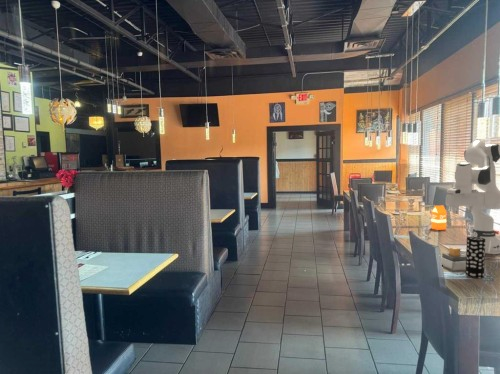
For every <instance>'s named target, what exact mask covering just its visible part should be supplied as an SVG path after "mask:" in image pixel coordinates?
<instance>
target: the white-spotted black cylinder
mask: <svg viewBox="0 0 500 374" xmlns="http://www.w3.org/2000/svg"><path fill="white" fill-rule="evenodd" d="M465 254H466V270H465V277H468V278H471V279H483V278H484V277H485V255H486V253H485V239H484V238H480V237H473V236H467V237H466V250H465Z"/></svg>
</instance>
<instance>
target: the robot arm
mask: <svg viewBox="0 0 500 374" xmlns="http://www.w3.org/2000/svg"><path fill="white" fill-rule="evenodd" d="M463 155H464V159H465V162H458V163H457V164H456V166H455V172H454V180H455V182H454V186H453V187H451V188H448V189H446V195H445V206H448V207H451V210H452V214H454V215H455V214H458V210H457V209H456V208H457V207H462V206H463V207H465V208H466V209H467V210H466V211H467V214H471V215H472V218H473V229H472V237H480V238H484V239H485V254H489V255H499V254H500V238H499V237H498V236H497V235H499V234H500V231H498V230H494V223H495V221H494V218H493V217H492V216H491V215H489V214H488V213H485V212H484V211H483V210H500V189H499V188H498V187H497V181H496V180H497V179H496V177H497V176H496V175H497V173H496V165H495V163H497V162H498V161H499V160H500V144H498V143H492V144H486V143H485V142H484V141H483V140H474V141H472V142H471V143H470V144H469V145H468V147H467V148H466V149H465V151H464V154H463ZM472 166H477V167H472ZM473 185H475V186H476V187H477V188H478V189H479V190H481V191H479V190H477V189H473Z"/></svg>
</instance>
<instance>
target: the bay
mask: <svg viewBox="0 0 500 374" xmlns="http://www.w3.org/2000/svg"><path fill="white" fill-rule="evenodd" d="M440 256H441V259H442V264H443V266H442V267H444V268H446V269H447V270H451V271H454V272H455V271H466V253H464V254H463V253H460V256H454V257H453V256H451V255H449V252H444V253H442V252H441V255H440Z"/></svg>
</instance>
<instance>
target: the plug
mask: <svg viewBox="0 0 500 374" xmlns="http://www.w3.org/2000/svg"><path fill="white" fill-rule="evenodd" d="M448 253H449V255H451V256H453V257H454V256H460V254H461V248H459V247H457V246H452V247H449V249H448Z"/></svg>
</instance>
